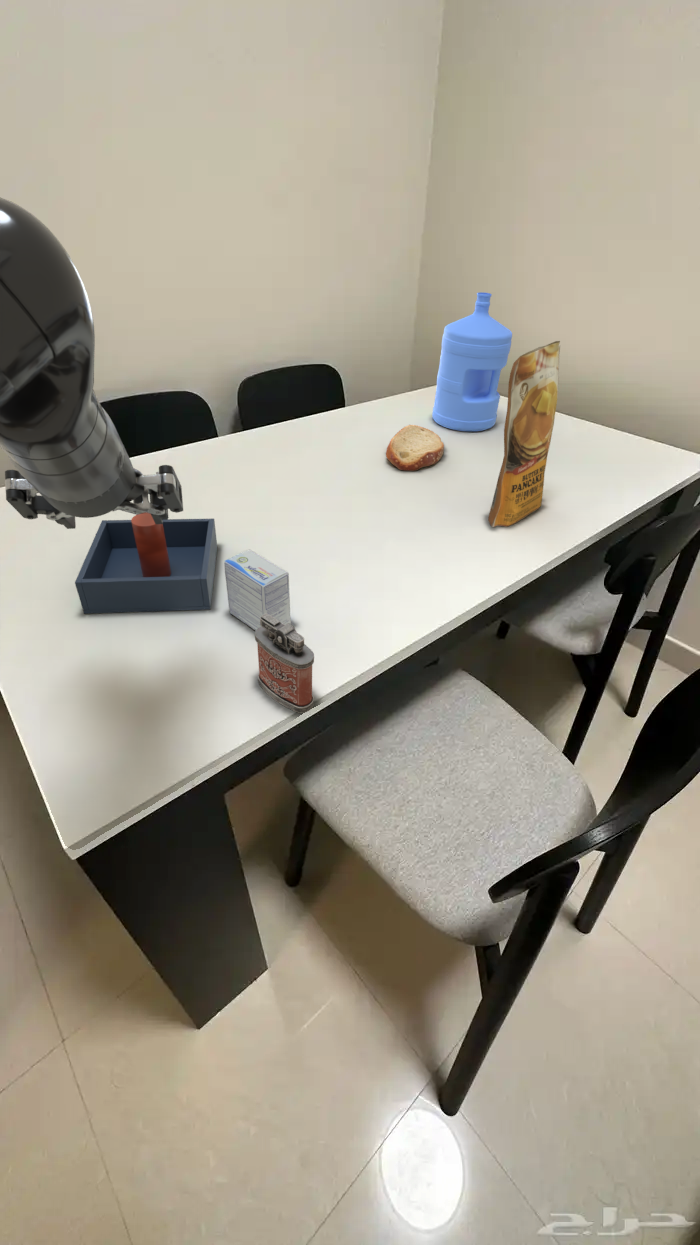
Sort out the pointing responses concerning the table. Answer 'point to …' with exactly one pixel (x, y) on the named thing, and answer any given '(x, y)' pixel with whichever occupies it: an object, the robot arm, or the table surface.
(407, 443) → the slice of bread
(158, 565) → the terracotta red cylinder
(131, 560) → the bin
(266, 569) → the medicine box
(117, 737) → the table surface
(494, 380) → the water jug
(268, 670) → the lighter
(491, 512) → the pancake mix bag
